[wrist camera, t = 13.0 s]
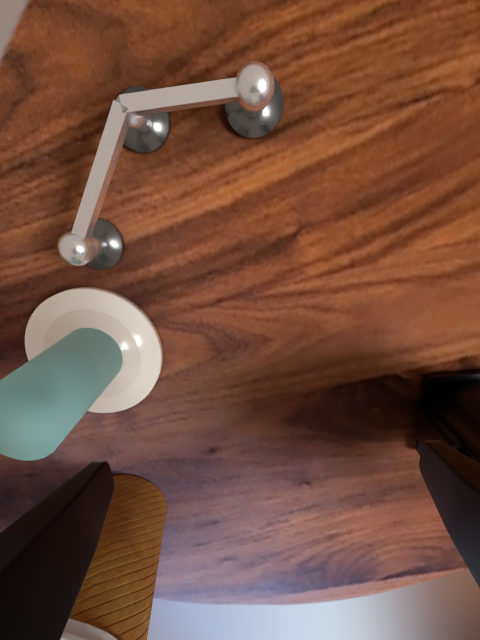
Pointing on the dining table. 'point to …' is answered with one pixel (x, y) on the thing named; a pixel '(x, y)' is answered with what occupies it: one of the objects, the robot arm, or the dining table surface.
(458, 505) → the robot arm
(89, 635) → the disposable coffee cup
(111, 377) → the peg
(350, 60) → the dining table surface
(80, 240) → the railing
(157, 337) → the saucer
